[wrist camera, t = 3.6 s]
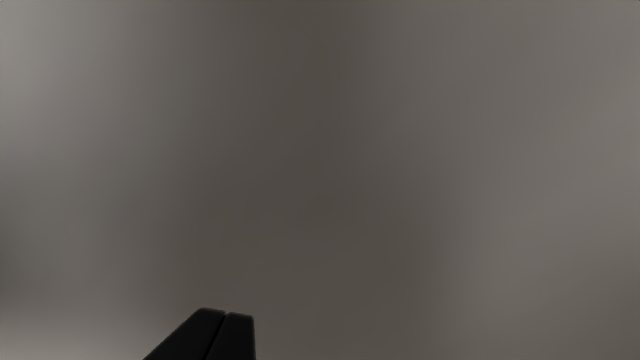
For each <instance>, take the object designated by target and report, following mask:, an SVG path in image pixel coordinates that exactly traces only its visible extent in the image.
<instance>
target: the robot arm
mask: <svg viewBox="0 0 640 360" xmlns="http://www.w3.org/2000/svg"><path fill="white" fill-rule="evenodd" d="M143 360H256V351H255V329H254V318H253V316H251V315H246V314H240V313H235V312H230V313H228V314H226V312H225V311H222V310H217V309H211V308H200V309H198V310H197V311H195V312H194V313H193V314H192V315H191V316H190V317H189V318H188V319H187V320H186V321H184V322H183V323H182V324H181V325H180V326H179V327H178V328H177V329H176V330H175V331H174V332H172V333H171V334H170V335H169V336H168V337H167V338H166V339H165V340H164V341H163V342H161V343H160V344H159V345H158V346H157V347H156V348H155V349H154V350H153V351H152V352H151V353H149V354H148V355H147V356H146V357H145V358H144V359H143Z"/></svg>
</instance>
